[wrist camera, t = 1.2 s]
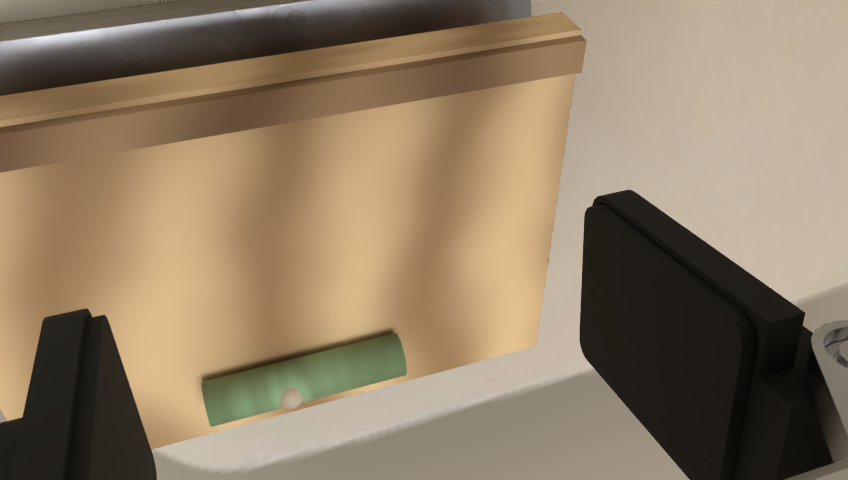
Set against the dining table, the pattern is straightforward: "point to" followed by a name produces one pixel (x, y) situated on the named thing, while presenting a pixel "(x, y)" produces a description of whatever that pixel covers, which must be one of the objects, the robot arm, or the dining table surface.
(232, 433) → the dining table surface
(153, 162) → the tan flat piece
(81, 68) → the stand
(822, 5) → the dining table surface
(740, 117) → the dining table surface
